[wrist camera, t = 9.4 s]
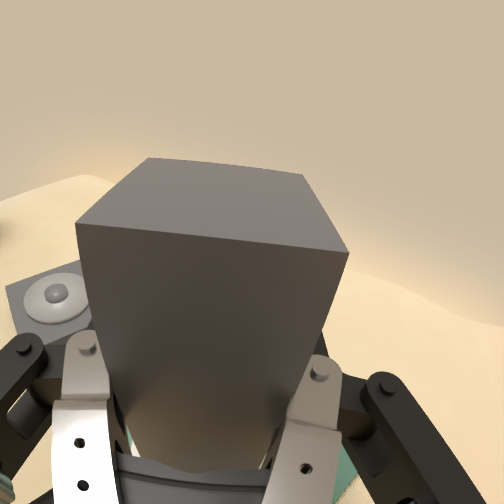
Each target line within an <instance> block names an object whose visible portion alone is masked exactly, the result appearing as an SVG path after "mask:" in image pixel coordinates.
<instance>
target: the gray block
mask: <svg viewBox="0 0 504 504" xmlns="http://www.w3.org/2000/svg"><path fill="white" fill-rule="evenodd" d="M75 228H76V235H77V242H78V249H79V256H80V262H81V268H82V273H83V278H84V284H85V289H86V293H87V298H88V303H89V307H90V311H91V316H92V320H93V324H94V328H95V332H96V335H97V339H98V343H99V346H100V350H101V353H102V357H103V360H104V363H105V366H106V370H108V371H109V373H110V376H111V379H112V384H113V391H114V393H115V396H116V399H117V402H118V404H119V407H120V410H121V411H123V413H124V416H125V419H126V425H127V428H128V430H129V432H130V435H131V437H132V439H133V442H134V444H135V446H136V449H137V451H138V453H139V455H140V457H142V458H147V459H152V460H155V461H157V462H160V463H162V464H165V465H167V466H170V467H173V468H175V469H178V470H181V471H183V472H186V473H191V474H196V473H204V472H211V471H218V470H225V469H231V468H234V469H258V468H259V467H260V465H261V463H262V461H263V459H264V457H265V455H266V453H267V450H268V447H269V444H270V441H271V437H272V434H273V432H274V430H275V428H279V427H280V425H281V423H282V420H283V416H284V412H285V409H286V405H287V401H288V399H289V397H290V394H291V392H292V391H297V388H298V386H299V384H300V382H301V379H302V377H303V375H304V372H305V370H306V368H307V365H308V363H309V361H310V358H311V356H312V353H313V351H314V349H315V346H316V344H317V341H318V339H319V336H320V333H321V331H322V328H323V326H324V323H325V321H326V318H327V315H328V313H329V310H330V307H331V305H332V302H333V299H334V296H335V294H336V291H337V288H338V285H339V282H340V279H341V276H342V274H343V271H344V268H345V265H346V262H347V259H348V256H349V251H348V250H347V248H346V246H345V244H344V243H343V241H342V239H341V237H340V235H339V234H338V232H337V230H336V229H335V227H334V225H333V224H332V222H331V220H330V219H329V217H328V215H327V213H326V212H325V210H324V209H323V207H322V205H321V204H320V202H319V200H318V199H317V197H316V195H315V194H314V192H313V191H312V189H311V187H310V186H309V184H308V183H307V181H306V180H305V178H304V176H303V175H301V174H295V173H288V172H281V171H275V170H267V169H261V168H252V167H244V166H237V165H228V164H218V163H209V162H199V161H188V160H175V159H162V158H147V159H146V160H145V161H144V162H142V163H141V164H140V165H139V166H138V167H137V168H135V169H134V170H133V171H131V172H130V173H129V174H128V175H127V176H126V177H124V178H123V179H122V180H121V181H120V182H119V183H117V184H116V185H115V186H114V187H113V188H112V189H111V190H109V191H108V192H107V193H106V194H105V195H104V196H103V197H102V198H101V199H99V200H98V201H97V202H96V203H95V204H94V205H93V206H92V207H91V208H90V209H89V210H88V211H87V212H86V213H85V214H83V215H82V216H81V217H80V218H79V219H78V220H77V221H76V222H75Z"/></svg>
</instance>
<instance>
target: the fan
mask: <svg viewBox="0 0 504 504" xmlns="http://www.w3.org/2000/svg"><path fill="white" fill-rule="evenodd" d="M5 288H6V293H7V297H8V301H9V305H10V309H11V313H12V317H13V320H14V324H15V327H16V331H17V334H18V335H19V334H22V333H34V334H36V335H38V336H39V337H40V338H41V340H42V342H43V344H44V345H60V344H67V342H68V340H69V339H70V338H71V337H72V336H73V335H74V334H76V333H78V332H80V331H84V330H86V328H87V326H88V324H89V322H90V320H91V318H92V316H91V311H90V307H89V303H88V298H87V293H86V289H85V284H84V278H83V273H82V268H81V262H80V260H77V261H74V262H71V263H69V264H66V265H63V266H60V267H57V268H54V269H51V270H48V271H46V272H43V273H40V274H37V275H34V276H32V277H29V278H26V279H23V280H21V281H18V282H15V283H13V284H10V285H7V286H5Z"/></svg>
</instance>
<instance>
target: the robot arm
mask: <svg viewBox="0 0 504 504" xmlns="http://www.w3.org/2000/svg"><path fill="white" fill-rule="evenodd" d="M26 389H27V391H26V392H25V393H24V394H23V395H22V397H21V398H20V399H19V400H18V401H17V403H16V404H15V405H14V406H13V407H12V409H11V410H10V411H9V412H8V410H9V409H10V407H11V406H12V405H13V404H14V403H15V401H16V400H17V399H18V398H19V397H20V395H21V394H22V393H23V392H24V391H25V390H26ZM7 412H8V414H7ZM51 425H52V476H53V488H52V489H50V490H49V491H47V492H46V493H44V494H43V495H41V496H40V497H38V498H37V499H35V500H34V501H32V502H31V503H29V504H331V502H332V496H333V491H334V486H335V480H336V474H337V468H338V462H339V455H340V448H341V443H342V445H343V447H344V449H345V451H346V452H347V454H348V456H349V458H350V460H351V461H352V463H353V465H354V467H355V469H356V470H357V472H358V474H359V476H360V478H361V479H362V481H363V483H364V485H365V487H366V488H367V490H368V492H369V494H370V495H371V497H372V499H373V501H374V503H375V504H486V502H485V501H484V499H483V498H482V496H481V494H480V493H479V491H478V490H477V488H476V487H475V485H474V484H473V482H472V481H471V479H470V478H469V476H468V475H467V473H466V472H465V470H464V469H463V467H462V466H461V464H460V463H459V461H458V460H457V458H456V457H455V455H454V454H453V452H452V451H451V449H450V448H449V446H448V445H447V444H446V442H445V441H444V439H443V438H442V436H441V435H440V433H439V432H438V431H437V429H436V428H435V426H434V425H433V424H432V422H431V421H430V419H429V418H428V416H427V415H426V414H425V412H424V411H423V410H422V408H421V407H420V405H419V404H418V403H417V401H416V400H415V398H414V397H413V396H412V394H411V393H410V392H409V390H408V389H407V388H406V386H405V385H404V383H403V382H402V381H401V380H400V379H399V378H398V377H397V376H395V375H393V374H391V373H389V372H376V373H374V374H372V375H371V376H370V377H369V378H368V380H365V379H361V378H357V377H353V376H350V375H347V374H345V373H343V372H342V371H341V368H340V367H339V365H338V364H337V363H336V362H335V361H334V360H332V359H331V358H329V355H328V352H327V348H326V344H325V340H324V337H323V333H322V331H321V333H320V336H319V339H318V341H317V344H316V346H315V349H314V351H313V353H312V356H311V358H310V361H309V363H308V365H307V368H306V370H305V372H304V375H303V377H302V379H301V382H300V384H299V386H298V388H297V391H292V392H291V394H290V397H289V399H288V401H287V405H286V409H285V412H284V416H283V420H282V423H281V425H280V427H279V428H275V430H274V432H273V434H272V437H271V441H270V444H269V447H268V450H267V453H266V456H265V459H264V462H263V464H262V466H261V469H234V468H231V469H225V470H218V471H211V472H204V473H196V474H191V473H186V472H183V471H181V470H178V469H175V468H173V467H170V466H167V465H165V464H162V463H160V462H157V461H155V460H152V459H147V458H142V457H137V456H132V453H131V449H130V446H129V441H128V435H127V427H126V419H125V416H124V413H123V411H121V410H120V407H119V404H118V402H117V399H116V396H115V393H114V391H113V384H112V379H111V376H110V373H109V371H108V370H106V366H105V363H104V360H103V357H102V353H101V350H100V346H99V343H98V339H97V335H96V332H95V328H94V324H93V320H92V318H91V320H90V322H89V324H88V326H87V328H86V330H84V331H80V332H78V333H76V334H74V335H73V336H72V337H71V338H70V339H69V340H68V342H67V344H60V345H44V344H43V342H42V340H41V338H40V337H39V336H38V335H36V334H34V333H22V334H19V335H17V336H15V337H14V338H13V339H12V340H10V341H9V342H8V343H7V344H6V345H5V346H4V347H3V348H2V349H1V350H0V504H10V503H12V502H13V501H14V500H15V494H14V492H13V485H12V482H11V481H12V479H13V478H14V476H15V475H16V473H17V472H18V470H19V469H20V468H21V466H22V465H23V463H24V462H25V460H26V459H27V458H28V456H29V455H30V453H31V452H32V451H33V449H34V448H35V446H36V445H37V444H38V442H39V441H40V440H41V438H42V437H43V435H44V434H45V433H46V431H47V430H48V429H49V427H50V426H51Z"/></svg>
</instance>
